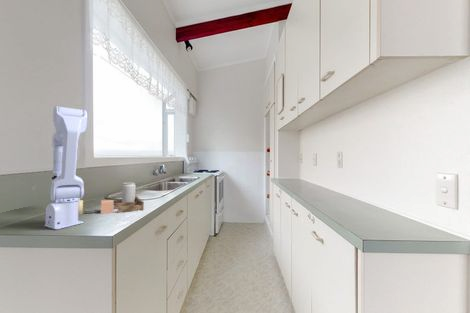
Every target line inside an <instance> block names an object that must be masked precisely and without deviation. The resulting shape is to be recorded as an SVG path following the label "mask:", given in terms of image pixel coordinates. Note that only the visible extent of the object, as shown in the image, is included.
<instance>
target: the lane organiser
mask: <svg viewBox="0 0 470 313" xmlns="http://www.w3.org/2000/svg"><path fill="white" fill-rule="evenodd" d="M112 200H113V201H114V206H115V209H116V210H117V213H129V212H138V210H140V211H144V207H145V206H144V205H145V202H144V201H143V200H142V199H140V197H139V196H137V195H135V202H125V203H122V199H112Z"/></svg>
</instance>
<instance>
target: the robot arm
mask: <svg viewBox="0 0 470 313" xmlns="http://www.w3.org/2000/svg"><path fill="white" fill-rule="evenodd" d="M52 119H53V120H52V121H53V124H54V128H55V133H53V135H52V140H51V142H52V144H51V145H52V148H53V151H52V152H53V153H52V154H53V156H52V157H53V158H52V172H51V173H52V174H53V176H52V177H51V179H52V181H51V186H50V200H51V201H52V202H51V203H49V204H47V206H46V207H45V219H44V220H45V223H44V225H43V227H46V228H49V229H53V230H60V229H61V230H62V229H63V228H69V227H73V226H77V225H81V224H84V221H82V220H79V215H78V205H79V201H80V200H82V198H83V197H84V195H85V189H84V188H85V187H84V186H85V185H84V180H83V179H82V178H81V177H80V176H78V175H76V172H77V163H78V149H79V148H78V147H79V139H80V135H81V134H82V133H85V132H86V130H87V125H88V112H87V110H86V109H79V108H72V107H66V106H58V105H55V106H54V107H53V115H52ZM55 175H57V176H55Z"/></svg>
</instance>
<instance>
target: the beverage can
mask: <svg viewBox="0 0 470 313" xmlns="http://www.w3.org/2000/svg"><path fill="white" fill-rule="evenodd" d="M121 188H122V190H121V200H122V203H125V202H135V196H136V189H137V188H136V183H135V182H123V183H122V187H121Z"/></svg>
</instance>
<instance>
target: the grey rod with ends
mask: <svg viewBox="0 0 470 313" xmlns="http://www.w3.org/2000/svg"><path fill="white" fill-rule="evenodd" d="M113 200H114V199H106V200H105V199H104V200H103V199H102V200H100V209H93V210H84V200H83V199H80V201H79V205H78V216H80V215H81V216H82V215H83V214H86V215H87V214H98V213H99V214H112V213H114V206H115V205H114V201H113ZM83 210H84V212H83Z"/></svg>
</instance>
